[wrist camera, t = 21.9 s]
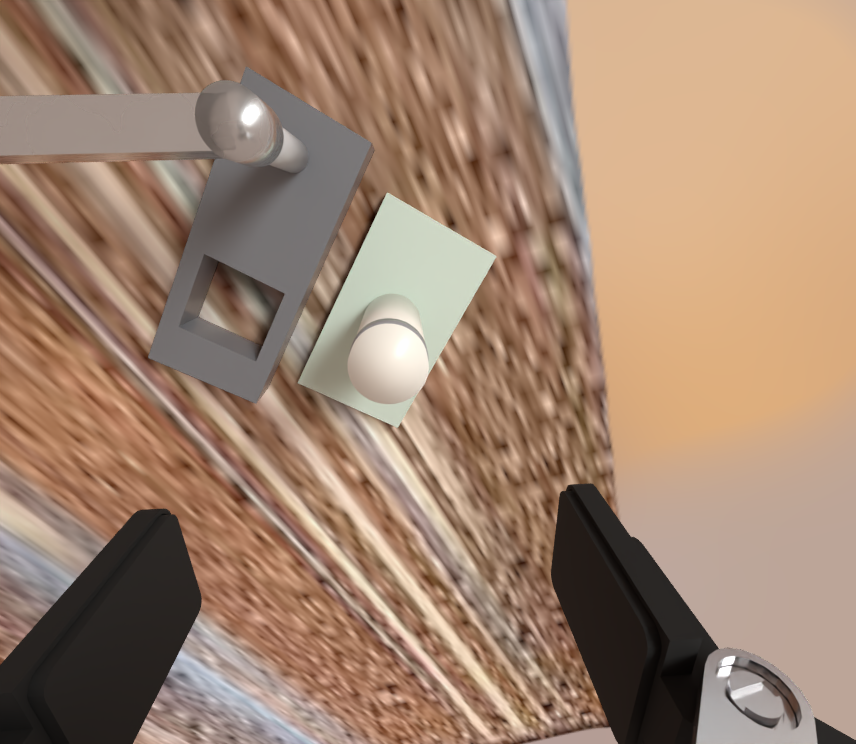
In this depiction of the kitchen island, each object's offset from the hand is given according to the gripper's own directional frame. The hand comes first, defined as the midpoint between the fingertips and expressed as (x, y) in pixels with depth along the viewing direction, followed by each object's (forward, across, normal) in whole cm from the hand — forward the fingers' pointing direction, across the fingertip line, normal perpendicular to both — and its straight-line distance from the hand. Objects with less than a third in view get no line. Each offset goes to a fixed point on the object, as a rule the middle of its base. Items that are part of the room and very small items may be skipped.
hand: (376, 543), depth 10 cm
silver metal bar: (+14, +14, -11) cm, 22 cm away
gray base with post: (+24, +9, -5) cm, 26 cm away
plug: (+23, 0, 0) cm, 23 cm away
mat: (+24, 0, 0) cm, 24 cm away
